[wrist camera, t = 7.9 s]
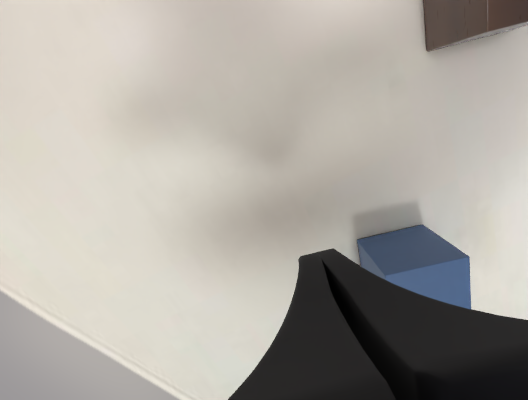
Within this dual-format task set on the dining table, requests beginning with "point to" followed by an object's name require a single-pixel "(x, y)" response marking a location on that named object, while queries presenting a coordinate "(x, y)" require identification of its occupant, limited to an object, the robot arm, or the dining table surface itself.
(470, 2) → the walnut block
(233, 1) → the dining table surface
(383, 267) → the blue block
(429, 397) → the robot arm
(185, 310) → the dining table surface
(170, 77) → the dining table surface
